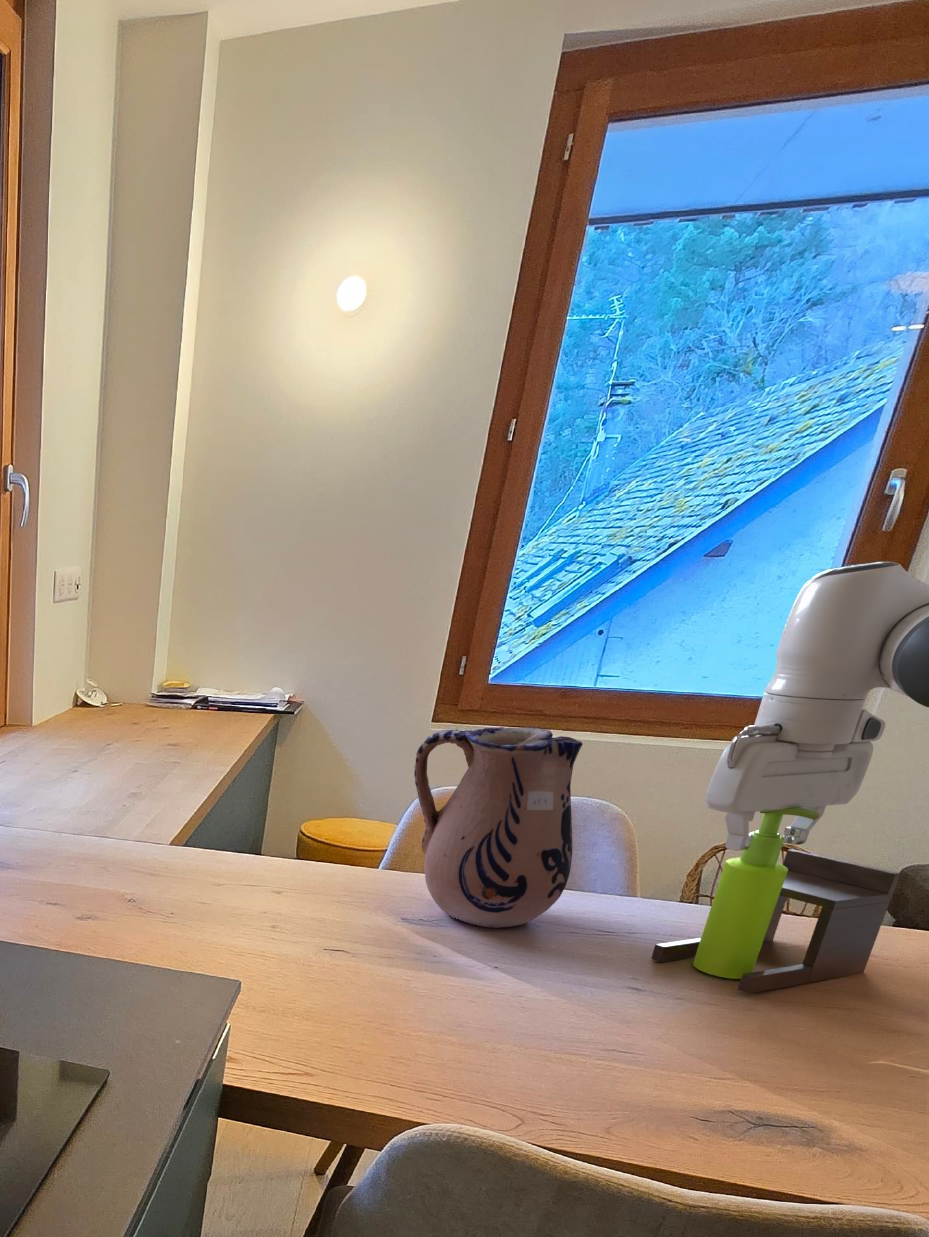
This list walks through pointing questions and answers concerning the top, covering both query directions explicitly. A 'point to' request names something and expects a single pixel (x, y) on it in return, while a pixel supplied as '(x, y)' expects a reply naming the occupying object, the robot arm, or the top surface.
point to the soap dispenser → (745, 901)
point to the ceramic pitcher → (500, 825)
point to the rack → (841, 928)
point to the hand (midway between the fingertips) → (764, 846)
